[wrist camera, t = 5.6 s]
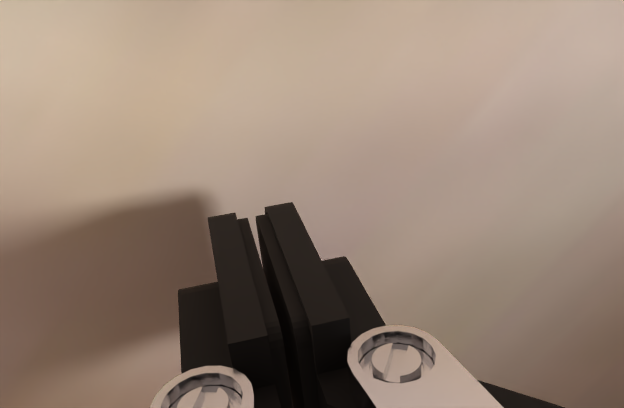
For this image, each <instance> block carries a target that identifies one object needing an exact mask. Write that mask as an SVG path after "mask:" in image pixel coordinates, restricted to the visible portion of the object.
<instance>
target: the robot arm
mask: <svg viewBox="0 0 624 408" xmlns="http://www.w3.org/2000/svg"><path fill="white" fill-rule="evenodd" d="M208 223H209V229H210V236H211V242H212V248H213V254H214V260H215V267H216V273H217V279H218V282H215V283H210V284H205V285H200V286H195V287H190V288H185V289H180V290H178V302H179V325H180V348H181V371H182V374H180V375H178V376H176V377H175V378H173V379H172V380H170V381H169V382H168V383H166V384H165V385H164V386H163V387H162V388H161V389H160V390H159V392H158V393H157V394H156V395H155V397H154V399H153V401H152V404H151V406H150V408H564V407H561V406H558V405H555V404H552V403H548V402H545V401H542V400H539V399H536V398H533V397H529V396H526V395H523V394H520V393H517V392H514V391H510V390H507V389H504V388H501V387H498V386H495V385H491V384H488V383H485V382H482V381H479V380H476V379H475V378H474V377H473V376H472V375H471V373H470V372H469V371H468V370H467V369H466V368H465V367H464V366H463V365H462V364H461V363H460V362H459V361H458V360H457V359H456V358H455V357H454V356H453V355H452V354H451V353H450V352H449V351H448V350H447V349H446V348H445V347H444V346H443V345H442V344H441V343H440V341H439V340H437V339H436V338H435V337H433V336H432V335H431V334H429V333H428V332H425V331H423V330H420V329H418V328H415V327H410V326H404V325H385V323H384V322H383V320H382V318H381V316H380V315H379V313H378V311H377V309H376V308H375V306H374V304H373V303H372V301H371V299H370V297H369V296H368V294H367V292H366V290H365V289H364V287H363V285H362V283H361V282H360V280H359V278H358V277H357V275H356V273H355V271H354V270H353V268H352V266H351V264H350V263H349V261H348V260H347V258H346V257H339V258H334V259H329V260H324V261H321V259H320V257H319V255H318V253H317V251H316V249H315V247H314V245H313V243H312V241H311V239H310V237H309V235H308V233H307V230H306V228H305V226H304V224H303V222H302V220H301V218H300V216H299V214H298V212H297V210H296V208H295V206H294V204H293V203H292V202H291V203H285V204H280V205H274V206H269V207H265V215H260V216H256V224H257V231H258V238H259V244H260V251H261V258H262V264H263V267H262V264H261V261H260V258H259V254H258V251H257V248H256V244H255V241H254V238H253V235H252V231H251V228H250V225H249V221H248V218H243V219H238V220H237V217H236V214H235V213H230V214H225V215H219V216H214V217H208Z"/></svg>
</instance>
